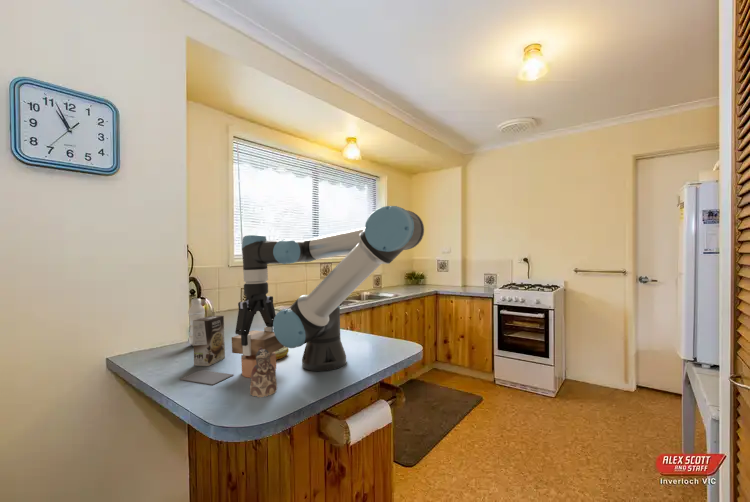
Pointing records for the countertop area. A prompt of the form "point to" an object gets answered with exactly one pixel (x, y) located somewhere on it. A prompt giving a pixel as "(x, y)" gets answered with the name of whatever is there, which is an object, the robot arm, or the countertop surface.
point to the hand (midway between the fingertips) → (258, 350)
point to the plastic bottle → (195, 315)
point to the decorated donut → (281, 353)
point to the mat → (206, 377)
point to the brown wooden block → (257, 342)
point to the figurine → (263, 375)
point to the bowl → (253, 363)
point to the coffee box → (208, 340)
